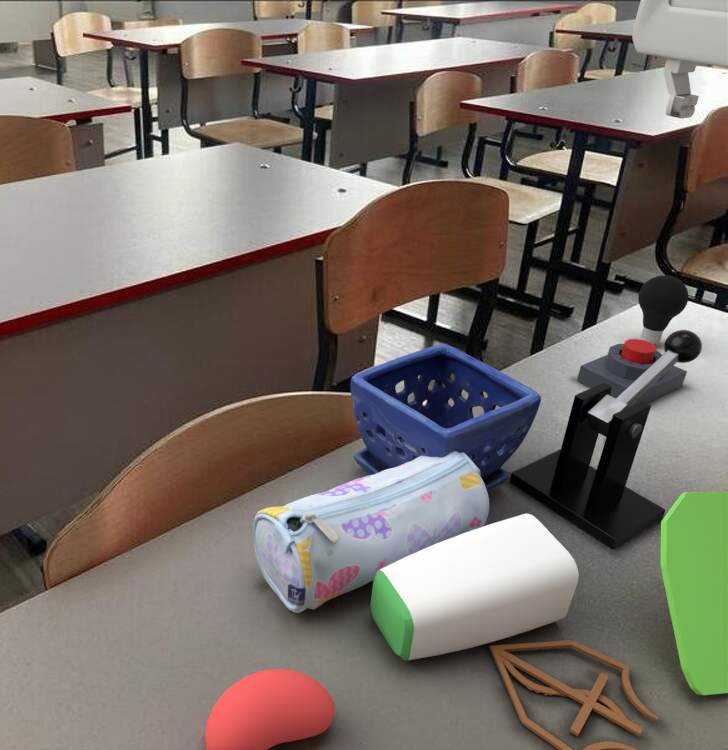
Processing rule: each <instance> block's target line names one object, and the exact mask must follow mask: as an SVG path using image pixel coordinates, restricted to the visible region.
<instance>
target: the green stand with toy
mask: <svg viewBox="0 0 728 750" xmlns="http://www.w3.org/2000/svg"><path fill="white" fill-rule="evenodd" d="M659 564H660V565H659V566H660V571H661V575H662V580H663V585H664V591H665V595H666V600H667V605H668V609H669V610H668V611H669V615H670V620H671V624H672V629H673V633H674V638H675V643H676V648H677V654H678V657H679V663H680V668H681V670H682V673H683V675H684V677H685V680H686V682H687V684H688V687H689V688H690V689H691V691H693V692H694V693H695V694H696V695H698V696H710V695H721V694H728V491H727V490H726V491H686V492H682V493H681V494H679V496H678V498H677V499H676V501H675V502H674V504H673V505H672V506H671V508H670V509H669V510H668V512H667V513H666V514H665V515H664V516H663V519H662V520H660V563H659Z"/></svg>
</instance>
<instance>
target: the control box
mask: <svg viewBox="0 0 728 750" xmlns="http://www.w3.org/2000/svg"><path fill="white" fill-rule="evenodd" d="M623 346H624V343H616V344H613V345H611V346H609V348H608V352H607V354H606V355H603V356H600V357H599V358H596V359H593V360H590V361H589V362H586V363H584V364H582V365H580V368H579V371H578V375H577V378H576V381H577V382H578V383H581V384H583V385H584V386H587V387H589V388H593V387H595V386H597V385H599V384H602V383H605V384H607V385H609V386H611V387H612V390H611V393H610V396H612V397H614V398H617V397H618V396H619V395H620V394H621V393H622V392H624V391H625V390H626V389H627V388H628V387H629V386H630V385H631V384H632V383H633V382H634V381H635V380H636V379H638V378H639V377H640V376H641V375H642V374H643V373H644V372H645V371H646V370H647V369H648V368H649V367H650V366H651V365H653V364H654V363H655V362H656V361H657V360H658V359H659V358H660V357H661V356H662V355H663V354H662V353H661V352H660V351H658V350H656V353H655V356H654V359H653V362H652V363H651V364H638V363H633V362H630V361H628V360H626V359H624V358H623V357H622V356H621V353H622V350H623ZM687 373H688V371H687V370H684V369H683V368H680V367H678V366H676V365H674V366H672V367H671V368H670V369H669V370H668V371H667V372H666V373H665V374H664V375H663V376H662V377H661V378H660V379H659V380H658V381H657V382H655V383H654V384H653V385H652V386H651V387H650V388H649V389H648V390H647V391H646V392H645V393H644V394H643V395H642V396H641V397H639V398H638V399H637V400H636V401H635V402H634V403H633V404H632V405H634V404H636V403H639V402H641V401H643V402H645V403H647V404H649V403H651V402H652V401H654V400H657V399H659V398H661V397H663V396H665V395H667V394H669V393H671V392H673V391H676V390H677V389H680V388H682V387H683V385H684V382H685V379H686V376H687ZM632 405H631V406H632Z"/></svg>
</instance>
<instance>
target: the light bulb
mask: <svg viewBox="0 0 728 750" xmlns="http://www.w3.org/2000/svg"><path fill="white" fill-rule="evenodd" d="M637 300H638V305H639V307H640V309H641V312H642V331H641V334H640V340H644V341H647V342H650V343H652V344H653V345H655V344H658V343H660V342H661V339H662V336H663V333H664V331H665V330H666V328H668V326H669V325H670V322H671V321H672V320H673V319H674V318H675V317H677V316H679V315H680V314H681V313H682V312H683V311H684V310H685V308H686V307H687V305H688V303H689V290H688V288H687V286H686V284H685V283H684V282H683V281H682V280H681V279H679V278H678V277H676V276H672V275H667V274H663V275H662V274H661V275H656V276H654V277H651V278H649V279H648V280H647V281H646V282H645V283H643V285H642V286H641V287H640V290H639V292H638V297H637Z"/></svg>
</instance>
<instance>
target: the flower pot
mask: <svg viewBox="0 0 728 750" xmlns="http://www.w3.org/2000/svg"><path fill="white" fill-rule="evenodd" d="M452 374H453V376H454V380H453V379H452ZM432 381H433V385H432V388H431V389H429V386H430V384H431V382H432ZM402 382H403V388H402V390H400V391H398V392H397V388H396V387H397V385H398V384H400V383H402ZM463 391H465V392H466V393H467V394H468V395H467V398H465V397H464V396H463ZM484 393H485V394H486V395H487V396H486V397H485V395H484ZM412 394H413V397H414V399H413V400H411V401H409V396H410V395H412ZM350 396H351V406H352V411H353V416H354V419H355V423H356V427H357V429H358V432H359V434H360V437H361V439H362V442H363V444H364V445H365V448H362V449H361V450H358V451H357V452H355V453H354V454H353V459H354V460H355V462H356V464H358V466H359V467H360V468H361V469H362V470H363V471H364V472H366V473H367V474H368V476H369V475H374V474H377V473H379V472H381V471H384V470H386V469H390V468H394V467H398V466H400V465H402V464H404V463H407V462H410V461H413V460H414V459H416V458H418V457H419V456H428V457H440V458H442V457H445V456H447V455H448V454H450V453H451V452H454V451H456V452H460V453H462V452H463V453H465V454H466V455H467V456H468V457H469V458H470V459H471V460H472V462H473V463H474V464H475V465H476V466H477V467H478V469H479V470H480V473H481V475H480V477H481V478H482V480H483V482H484V484H485V487H486V490H487V493H488V492H490V491H492V490H494V489H495V488H498V487H499V486H501V485H502V484H504V483H505V482H506V481H507V480H508V479H510V477H511V473H510V472H509V471H507V469H505V468H504V467H503V466H504V465H505V464H506V463H507V462H508V461H509V460H510V459H511V457H512V456H513V455H514V454H515V452H517V450H518V449H519V447H520V446H521V445H522V443H523V442H524V440H525V438H526V437H527V435H528V433H529V431H530V429H531V428H532V426H533V423H534V421H535V419H536V416H537V413H538V411H539V408H540V405H541V400H542V397H541V395H540V394H539V393H538V392H537V391H535V390H534V389H532V388H531V387H529V386H527V385H526V384H524V383H522V382H520V381H518V380H517V379H516V378H513V377H512V376H509V375H508V374H506V373H504V372H502V371H501V370H498V369H497V368H494V367H492V366H491V365H489V364H487V363H485V362H483V361H481V360H479V359H477V358H475V357H473V356H472V355H470V354H467V353H464V352H463V351H461V350H460V349H458V348H455V347H453V346H451V345H450V344H448V343H447V344H446V343H439V344H435V345H433V346H430V347H426V348H423V349H419V350H417V351H414V352H411V353H408V354H404V355H401V356H399V357H396V358H394V359H391V360H388V361H386V362H383V363H381V364H378V365H375V366H372V367H370V368H368V369H365V370H363V371H361V372H359V373H356V374H354V375H353V376H352V377H351V379H350ZM425 400H426V402H425ZM450 400H452V401H453V405H451V404H450V403H449V401H450ZM424 402H425V404H424ZM475 407H480V408H482V411H483V413H482V414H479V415H478V416H474V412H473V408H475ZM497 407H498V408H497Z"/></svg>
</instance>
